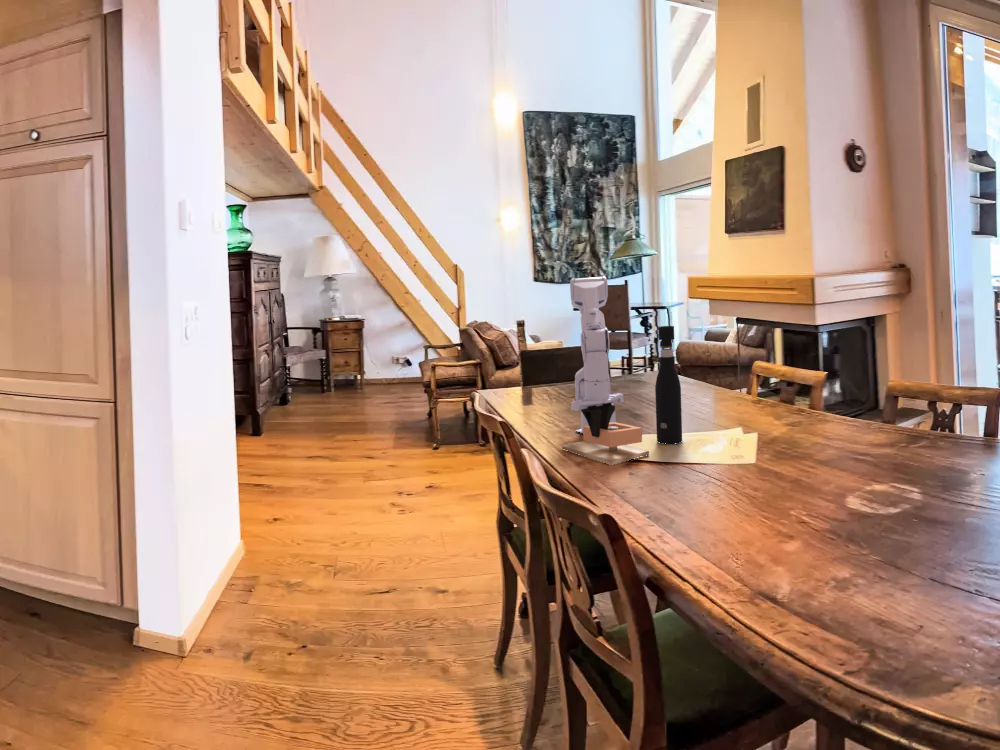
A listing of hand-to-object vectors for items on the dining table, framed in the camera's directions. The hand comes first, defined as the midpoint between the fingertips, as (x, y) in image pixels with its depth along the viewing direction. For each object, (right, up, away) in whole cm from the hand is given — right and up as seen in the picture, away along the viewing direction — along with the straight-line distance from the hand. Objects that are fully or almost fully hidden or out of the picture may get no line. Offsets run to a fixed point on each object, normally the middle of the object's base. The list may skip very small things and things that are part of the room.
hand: (599, 435), depth 153 cm
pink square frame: (+4, -2, +2) cm, 5 cm away
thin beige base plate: (+2, -5, +6) cm, 8 cm away
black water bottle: (+20, -3, +12) cm, 24 cm away
